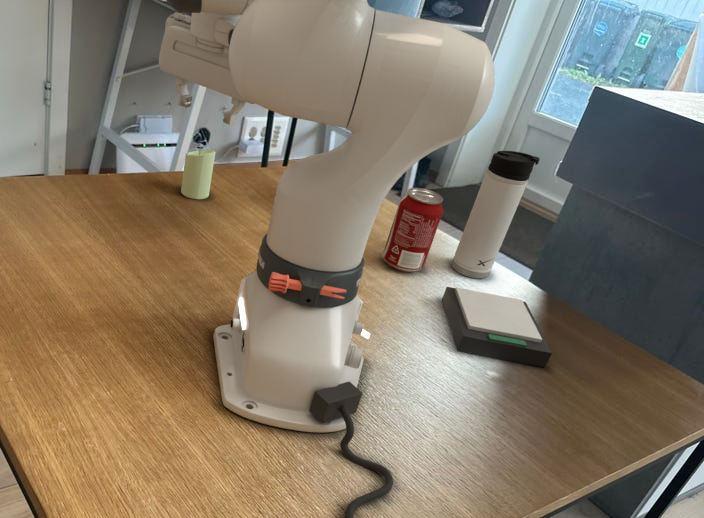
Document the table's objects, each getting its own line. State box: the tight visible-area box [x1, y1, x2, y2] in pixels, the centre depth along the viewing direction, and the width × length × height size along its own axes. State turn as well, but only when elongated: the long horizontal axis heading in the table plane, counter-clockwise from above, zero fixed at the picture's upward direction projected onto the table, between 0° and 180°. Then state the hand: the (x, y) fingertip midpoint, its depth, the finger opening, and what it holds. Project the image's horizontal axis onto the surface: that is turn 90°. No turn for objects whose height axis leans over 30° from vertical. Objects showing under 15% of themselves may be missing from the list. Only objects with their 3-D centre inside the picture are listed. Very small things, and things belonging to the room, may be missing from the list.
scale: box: [441, 286, 553, 368], centre depth 100 cm, size 14×12×3 cm
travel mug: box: [451, 150, 540, 279], centre depth 111 cm, size 6×7×20 cm
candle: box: [180, 149, 216, 200], centre depth 123 cm, size 5×5×8 cm
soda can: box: [382, 187, 444, 273], centre depth 111 cm, size 7×7×12 cm
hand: (206, 114), depth 117 cm, fingers open, 8 cm apart
